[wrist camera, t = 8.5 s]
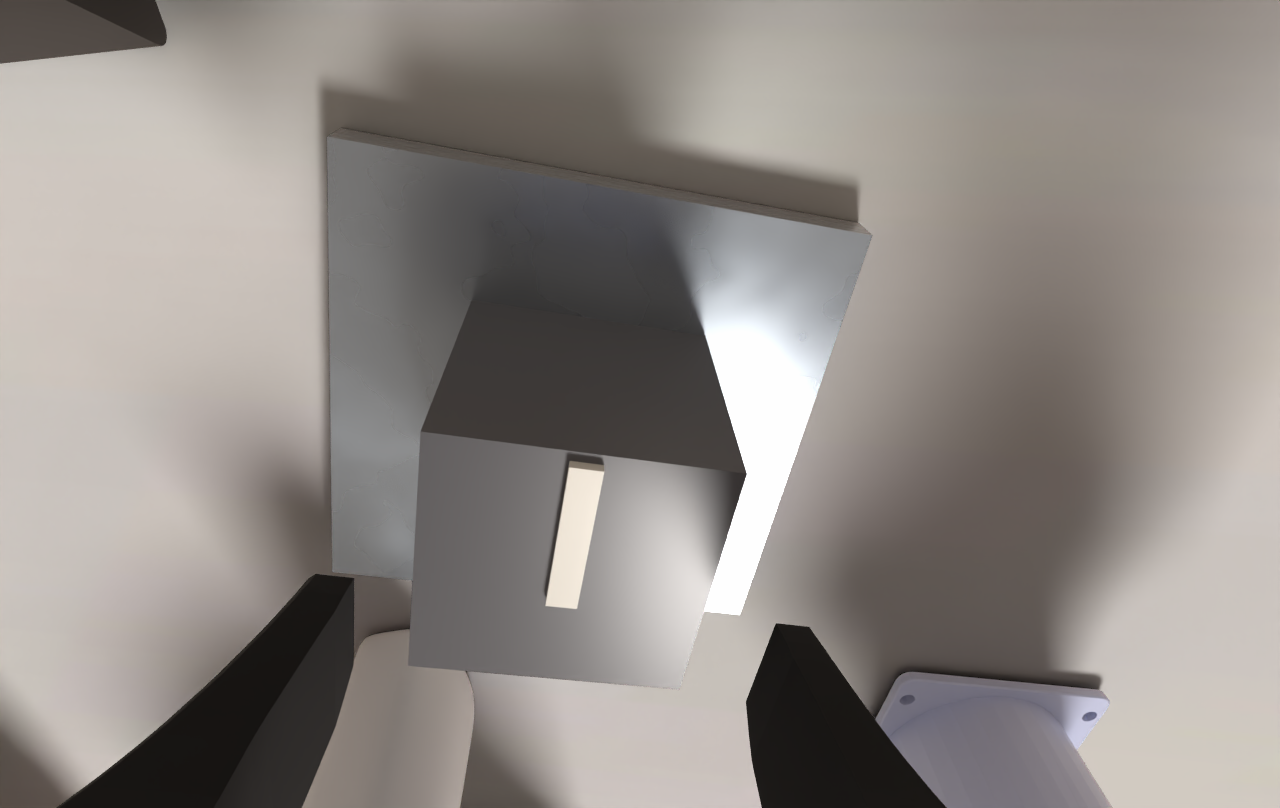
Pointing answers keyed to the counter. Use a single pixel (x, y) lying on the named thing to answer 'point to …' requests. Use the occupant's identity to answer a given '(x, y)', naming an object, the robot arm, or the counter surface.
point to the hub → (561, 283)
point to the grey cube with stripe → (570, 500)
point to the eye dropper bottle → (397, 733)
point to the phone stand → (76, 27)
